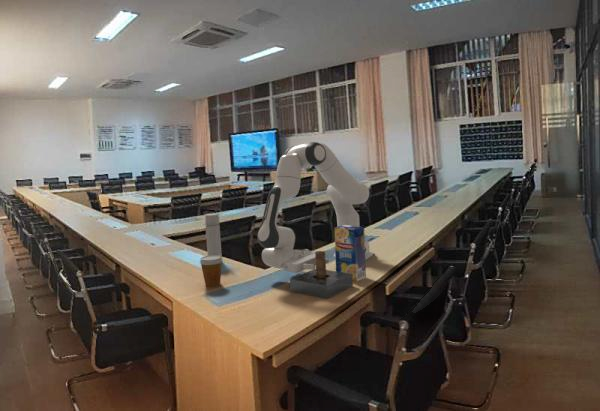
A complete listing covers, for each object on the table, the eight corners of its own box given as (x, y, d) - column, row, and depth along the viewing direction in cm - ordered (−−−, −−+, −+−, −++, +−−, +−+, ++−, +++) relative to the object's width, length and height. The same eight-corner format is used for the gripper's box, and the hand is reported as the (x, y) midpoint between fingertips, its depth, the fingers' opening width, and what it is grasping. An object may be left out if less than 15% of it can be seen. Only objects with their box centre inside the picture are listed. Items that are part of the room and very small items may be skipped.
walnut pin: (320, 284, 182) (319, 250, 181) (328, 285, 180) (327, 251, 178) (314, 286, 179) (313, 252, 177) (323, 288, 177) (321, 253, 175)
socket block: (316, 279, 192) (316, 268, 192) (352, 285, 181) (352, 273, 180) (290, 291, 178) (289, 279, 178) (327, 298, 167) (327, 285, 166)
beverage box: (345, 273, 199) (344, 225, 197) (366, 277, 192) (364, 227, 189) (336, 277, 195) (334, 227, 192) (356, 281, 187) (354, 229, 184)
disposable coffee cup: (199, 283, 194) (197, 256, 193) (221, 280, 198) (219, 253, 197) (204, 289, 186) (201, 261, 184) (226, 285, 189) (224, 258, 188)
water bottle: (225, 261, 231) (221, 214, 228) (210, 264, 227) (207, 216, 223) (217, 258, 239) (214, 212, 235) (203, 261, 234) (200, 214, 231)
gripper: (277, 258, 178) (305, 262, 170) (308, 248, 194) (334, 251, 186) (278, 273, 179) (305, 278, 171) (308, 262, 195) (335, 266, 186)
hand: (321, 264), depth 178 cm, fingers open, 8 cm apart
